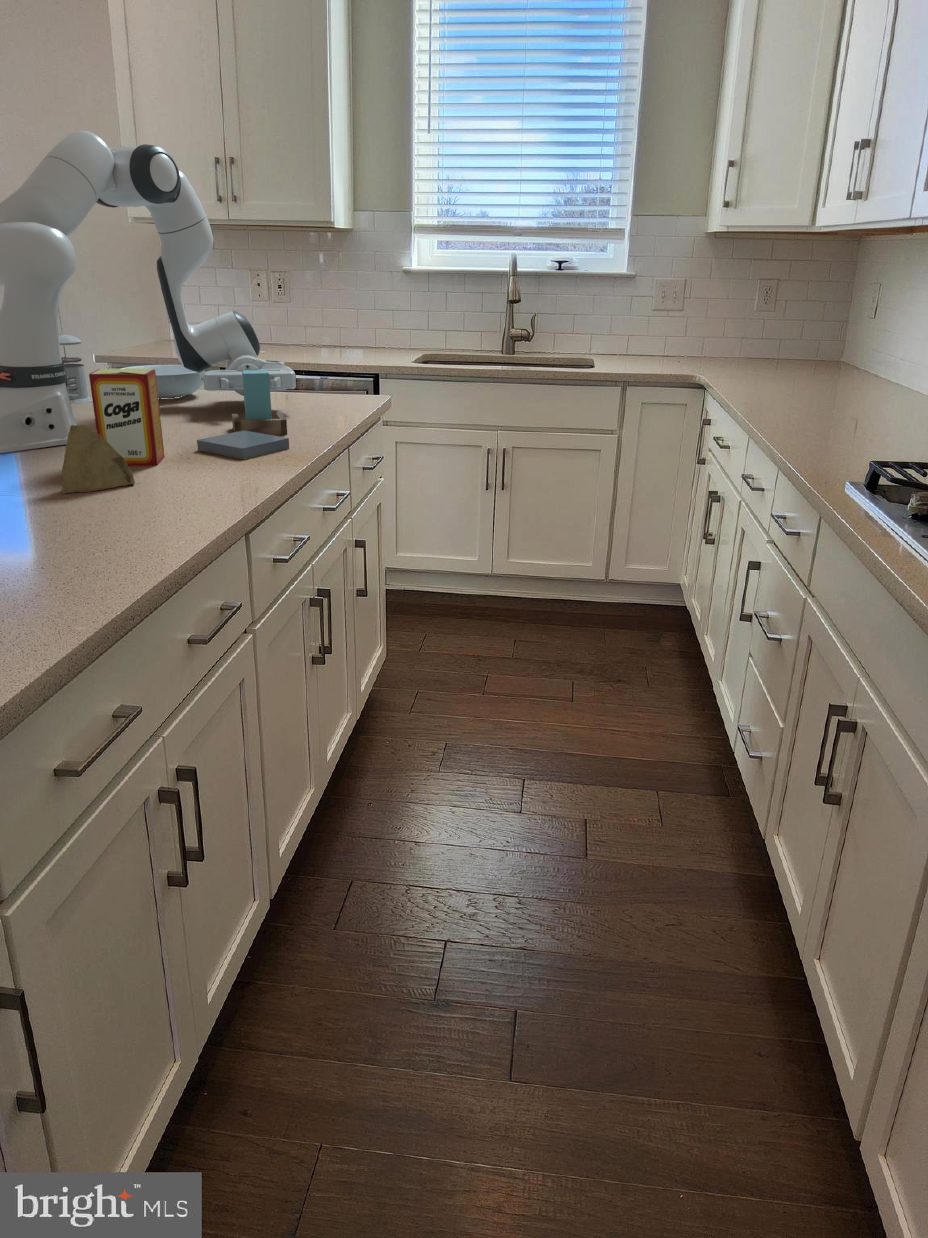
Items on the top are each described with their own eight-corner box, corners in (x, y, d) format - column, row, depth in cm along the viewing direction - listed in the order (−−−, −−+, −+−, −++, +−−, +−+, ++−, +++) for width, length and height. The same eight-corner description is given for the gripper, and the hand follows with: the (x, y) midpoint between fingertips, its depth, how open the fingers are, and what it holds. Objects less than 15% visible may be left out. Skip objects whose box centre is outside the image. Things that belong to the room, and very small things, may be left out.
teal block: (248, 433, 187) (243, 373, 182) (246, 428, 191) (242, 370, 187) (272, 432, 188) (269, 373, 184) (270, 427, 193) (266, 369, 188)
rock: (145, 464, 150) (84, 455, 149) (135, 429, 143) (71, 419, 142) (126, 517, 145) (63, 507, 144) (115, 483, 137) (48, 473, 137)
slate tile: (243, 459, 165) (242, 448, 164) (197, 450, 171) (196, 439, 170) (289, 448, 174) (288, 438, 173) (244, 440, 180) (244, 430, 179)
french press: (78, 404, 214) (62, 292, 204) (34, 402, 216) (16, 290, 206) (101, 398, 223) (87, 290, 213) (59, 395, 225) (43, 288, 215)
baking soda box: (101, 465, 158) (88, 371, 152) (110, 457, 164) (98, 366, 158) (157, 465, 159) (146, 372, 153) (164, 457, 165) (154, 366, 159)
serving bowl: (219, 392, 235) (217, 364, 233) (188, 405, 216) (185, 375, 214) (142, 389, 237) (138, 362, 234) (104, 402, 218) (101, 372, 215)
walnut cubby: (235, 436, 184) (234, 421, 183) (232, 428, 191) (231, 413, 190) (287, 434, 187) (286, 419, 185) (282, 426, 194) (281, 412, 193)
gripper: (199, 362, 206) (201, 370, 193) (290, 361, 211) (298, 369, 199) (202, 391, 208) (204, 400, 196) (292, 388, 214) (299, 398, 201)
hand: (252, 384), depth 197 cm, fingers open, 8 cm apart
